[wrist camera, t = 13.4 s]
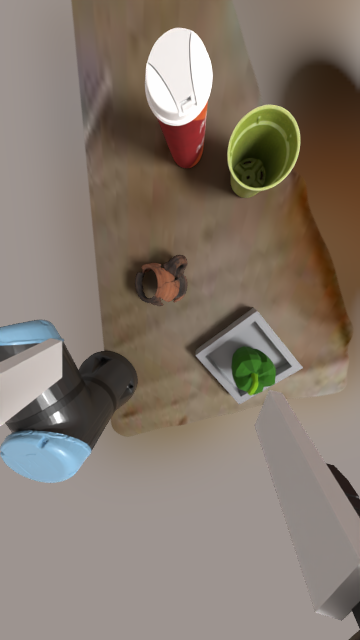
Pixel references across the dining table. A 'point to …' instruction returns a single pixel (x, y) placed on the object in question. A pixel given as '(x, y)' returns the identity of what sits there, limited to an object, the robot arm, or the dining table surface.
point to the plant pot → (262, 149)
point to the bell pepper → (252, 370)
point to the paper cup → (180, 92)
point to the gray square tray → (250, 334)
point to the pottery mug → (165, 280)
